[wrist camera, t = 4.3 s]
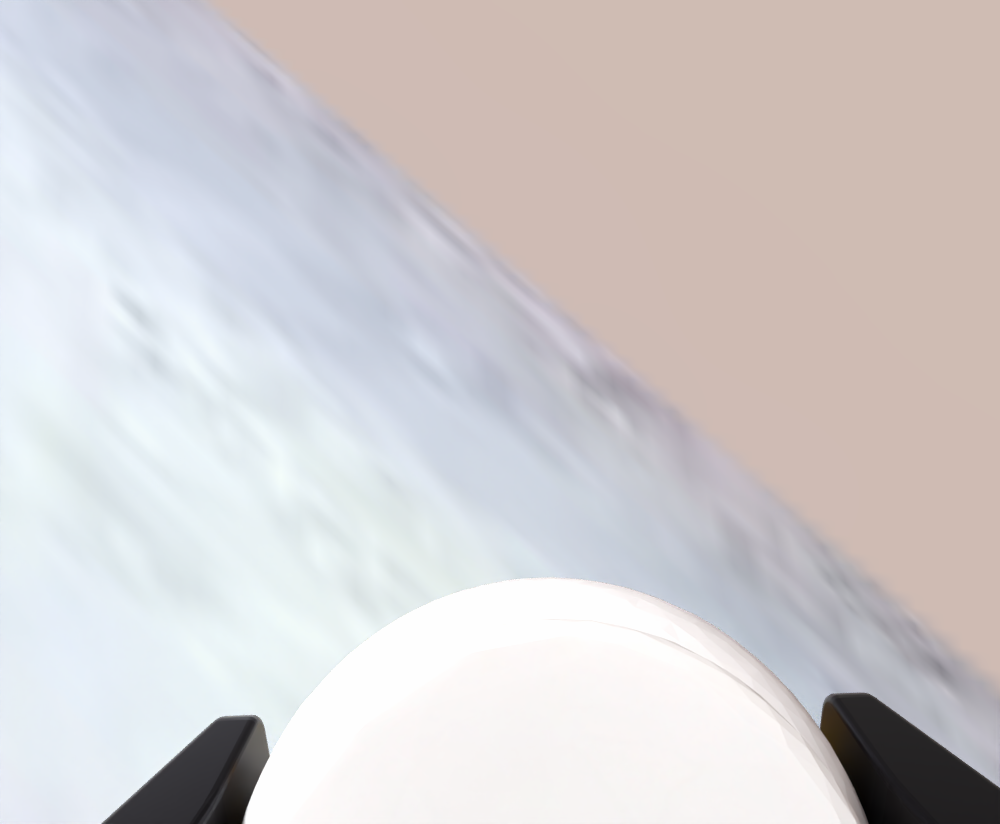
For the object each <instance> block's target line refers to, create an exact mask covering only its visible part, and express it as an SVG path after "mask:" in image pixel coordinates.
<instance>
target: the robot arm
mask: <svg viewBox="0 0 1000 824" xmlns="http://www.w3.org/2000/svg"><path fill="white" fill-rule="evenodd" d="M820 730H821V731H822V733H823V734H824V736H825V737H826V739H827V740H828V742H829V743H830V745H831V746H832V748H833V750H834V752H835V754H836V755H837V757H838V759H839V761H840V762H841V764H842V766H843V768H844V770H845V771H846V773H847V775H848V777H849V779H850V781H851V783H852V785H853V787H854V789H855V791H856V793H857V796H858V798H859V800H860V803H861V805H862V807H863V810H864V812H865V815H866V818H867V820H868V823H869V824H1000V788H999V787H998V786H996V785H995V784H994V783H992V782H991V781H990V780H988V779H987V778H985V777H984V776H983V775H981V774H980V773H979V772H977V771H976V770H974V769H973V768H972V767H970V766H969V765H968V764H966V763H965V762H963V761H962V760H961V759H959V758H958V757H957V756H955V755H954V754H952V753H951V752H950V751H948V750H947V749H946V748H944V747H943V746H941V745H940V744H939V743H937V742H936V741H934V740H933V739H932V738H930V737H929V736H928V735H926V734H925V733H923V732H922V731H921V730H919V729H918V728H917V727H915V726H914V725H912V724H911V723H910V722H908V721H907V720H906V719H904V718H903V717H901V716H900V715H899V714H897V713H896V712H895V711H893V710H892V709H890V708H889V707H888V706H886V705H885V704H884V703H882V702H881V701H879V700H878V699H877V698H875V697H874V696H872V695H870V694H867V693H837V694H830V695H829V696H828V697H826V699H825V701H824V703H823V708H822V716H821V724H820ZM269 757H270V755H269V749H268V744H267V738H266V733H265V728H264V724H263V722H262V720H261V719H260V718H259V717H257V716H256V715H242V716H224V717H220V718H218V719H217V720H215V721H214V722H213V723H211V724H210V725H209V726H208V727H207V728H206V729H205V730H204V731H203V732H202V733H200V734H199V735H198V736H197V737H196V738H195V739H194V740H193V741H192V742H191V743H189V744H188V745H187V746H186V747H185V748H184V749H183V750H182V751H181V752H180V753H178V754H177V755H176V756H175V757H174V758H173V759H172V760H171V761H170V762H169V763H167V764H166V765H165V766H164V767H163V768H162V769H161V770H160V771H159V772H158V773H157V774H155V775H154V776H153V777H152V778H151V779H150V780H149V781H148V782H147V783H146V784H144V785H143V786H142V787H141V788H140V789H139V790H138V791H137V792H136V793H135V794H133V795H132V796H131V797H130V798H129V799H128V800H127V801H126V802H125V803H124V804H122V805H121V806H120V807H119V808H118V809H117V810H116V811H115V812H114V813H113V814H111V815H110V816H109V817H108V818H107V819H106V820H105V821H104V822H103V823H102V824H242V821H243V818H244V815H245V812H246V809H247V806H248V804H249V801H250V799H251V796H252V794H253V791H254V789H255V786H256V784H257V782H258V780H259V777H260V775H261V773H262V771H263V769H264V767H265V765H266V763H267V761H268V759H269Z"/></svg>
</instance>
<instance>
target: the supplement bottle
mask: <svg viewBox="0 0 1000 824" xmlns="http://www.w3.org/2000/svg"><path fill="white" fill-rule="evenodd" d="M242 824H869V823H868V820H867V818H866V815H865V812H864V810H863V807H862V805H861V803H860V800H859V798H858V796H857V793H856V791H855V789H854V787H853V785H852V783H851V781H850V779H849V777H848V775H847V773H846V771H845V770H844V768H843V766H842V764H841V762H840V761H839V759H838V757H837V755H836V754H835V752H834V750H833V748H832V746H831V745H830V743H829V742H828V740H827V739H826V737H825V736H824V734H823V733H822V731H821V730H820V729H819V727H818V726H817V724H816V723H815V721H814V720H813V719H812V717H811V716H810V715H809V713H808V712H807V711H806V709H805V708H804V707H803V706H802V704H801V703H800V702H799V701H798V699H797V698H796V697H795V696H794V694H793V693H792V692H791V691H790V690H789V689H788V688H787V687H786V686H785V685H784V684H783V683H782V682H781V681H780V680H779V679H778V678H777V676H776V675H775V674H774V673H773V672H772V671H771V670H770V669H768V668H767V667H766V666H765V665H764V664H763V663H762V662H761V661H760V660H759V659H757V658H756V657H755V656H754V655H753V654H751V653H750V652H749V651H748V650H746V649H745V648H744V647H743V646H741V645H740V644H739V643H738V642H736V641H735V640H734V639H732V638H731V637H729V636H728V635H727V634H725V633H724V632H722V631H721V630H719V629H718V628H716V627H715V626H713V625H712V624H710V623H708V622H707V621H705V620H703V619H701V618H700V617H698V616H696V615H694V614H693V613H690V612H688V611H685V610H683V609H681V608H679V607H676V606H674V605H672V604H670V603H668V602H666V601H663V600H661V599H659V598H656V597H653V596H650V595H647V594H644V593H641V592H638V591H635V590H632V589H629V588H626V587H621V586H617V585H612V584H607V583H603V582H596V581H589V580H582V579H571V578H555V577H548V578H527V579H513V580H506V581H501V582H496V583H492V584H487V585H482V586H478V587H474V588H470V589H466V590H463V591H459V592H456V593H453V594H451V595H448V596H445V597H443V598H440V599H437V600H435V601H432V602H430V603H428V604H426V605H424V606H422V607H420V608H418V609H416V610H414V611H412V612H410V613H408V614H406V615H404V616H402V617H400V618H399V619H397V620H395V621H394V622H392V623H391V624H389V625H388V626H386V627H385V628H383V629H381V630H380V631H378V632H377V633H375V634H374V635H373V636H372V637H370V638H369V639H368V640H366V641H365V642H364V643H362V644H361V645H360V646H359V647H357V648H356V649H355V650H353V651H352V652H351V653H350V654H349V655H348V656H347V657H346V658H345V659H344V660H343V661H341V662H340V663H339V664H338V665H337V666H336V667H335V668H334V669H333V670H332V671H331V672H330V673H329V674H328V675H327V677H326V678H325V679H324V680H323V681H322V682H321V683H320V685H319V686H318V687H317V688H316V689H315V690H314V691H313V692H312V694H311V695H310V696H309V697H308V698H307V699H306V700H305V701H304V703H303V704H302V705H301V706H300V708H299V709H298V711H297V712H296V714H295V715H294V716H293V718H292V719H291V721H290V722H289V724H288V726H287V727H286V729H285V731H284V732H283V734H282V736H281V737H280V739H279V741H278V743H277V744H276V746H275V748H274V749H273V751H272V753H271V755H270V757H269V759H268V761H267V763H266V765H265V767H264V769H263V771H262V773H261V775H260V777H259V780H258V782H257V784H256V786H255V789H254V791H253V794H252V796H251V799H250V801H249V804H248V806H247V809H246V812H245V815H244V818H243V821H242Z"/></svg>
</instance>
